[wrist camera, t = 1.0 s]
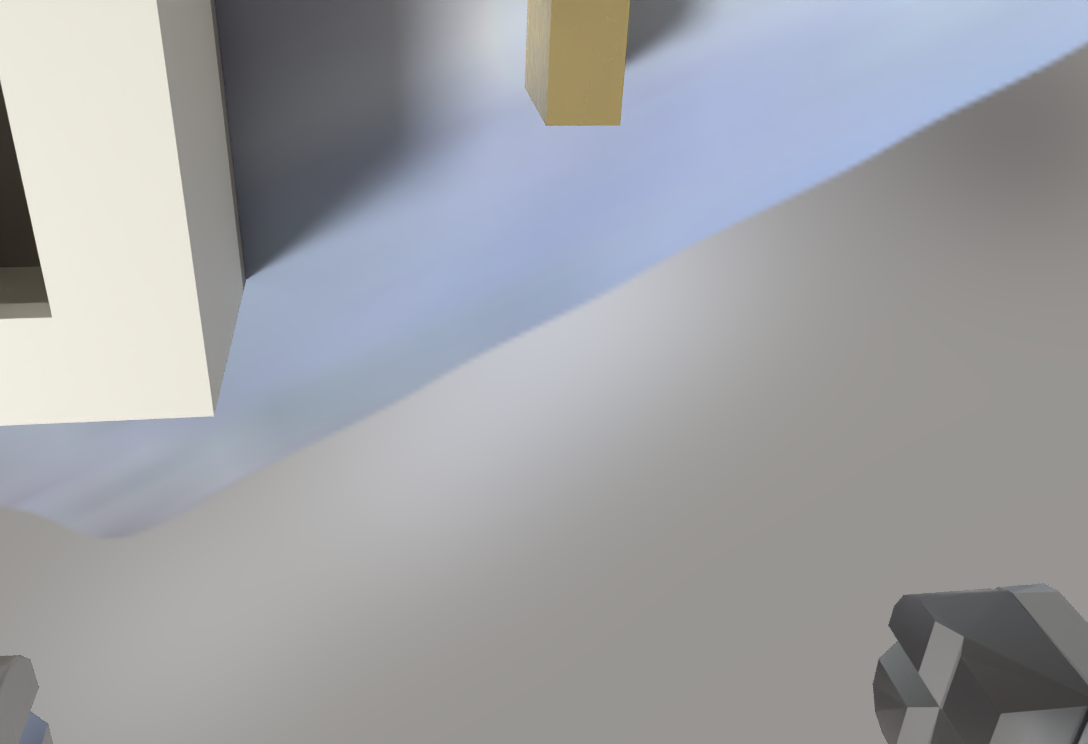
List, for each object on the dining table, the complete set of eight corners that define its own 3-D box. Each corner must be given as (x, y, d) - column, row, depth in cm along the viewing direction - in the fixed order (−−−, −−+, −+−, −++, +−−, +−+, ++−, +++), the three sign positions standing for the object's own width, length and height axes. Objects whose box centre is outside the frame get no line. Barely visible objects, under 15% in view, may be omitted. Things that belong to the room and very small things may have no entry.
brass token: (529, -58, 35) (553, -37, 31) (600, -57, 35) (633, -36, 31) (524, 87, 37) (546, 125, 33) (590, 87, 38) (620, 125, 34)
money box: (-210, -132, 31) (-432, -102, 22) (201, -117, 32) (144, -85, 24) (-88, 288, 37) (-221, 435, 29) (246, 280, 39) (213, 416, 31)
